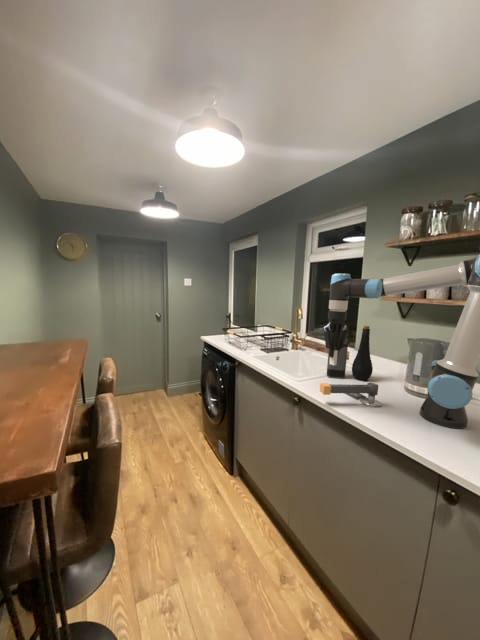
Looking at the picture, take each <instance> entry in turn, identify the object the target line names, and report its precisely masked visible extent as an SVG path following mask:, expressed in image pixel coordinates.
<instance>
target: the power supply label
mask: <svg viewBox="0 0 480 640" xmlns="http://www.w3.org/2000/svg"><path fill="white" fill-rule="evenodd" d="M344 394H345V395H347V396H349V397H351V398H352V399H354V400H361V399H362V398H368V396H366V395H364V394H363V393H344Z"/></svg>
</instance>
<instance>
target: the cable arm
mask: <svg viewBox="0 0 480 640" xmlns="http://www.w3.org/2000/svg"><path fill="white" fill-rule="evenodd" d="M319 392H320V393H321V394H322V395H328V396H331V394H345V393H359V394H367V395H368V394H370V395H375V396H378V394H379V384H377V383H374V382H367V384H341V383H339V384H337V383H335V384H332V383H331V384H329V383H328V382H320V385H319Z"/></svg>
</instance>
